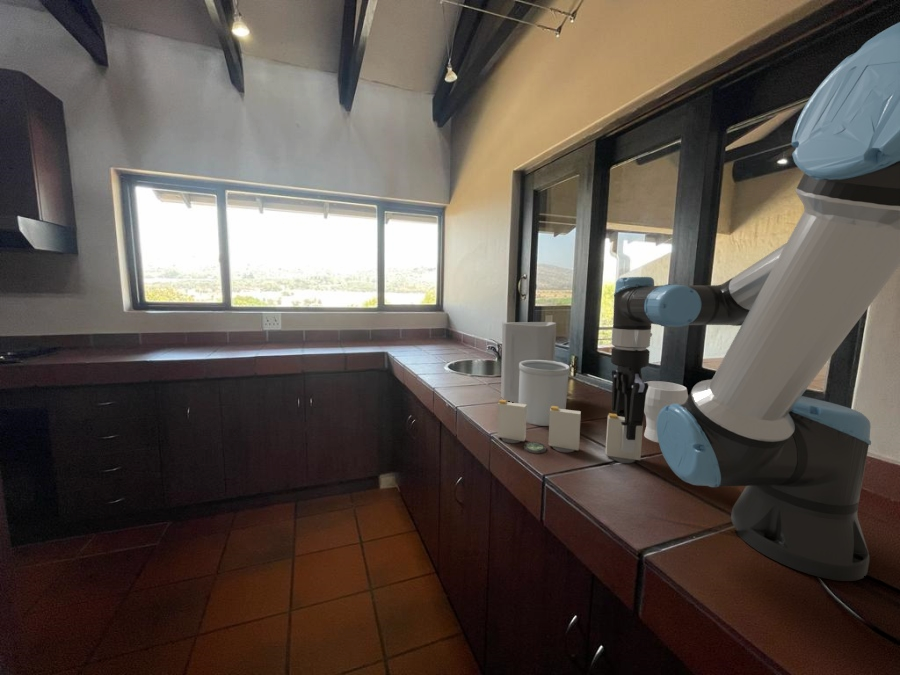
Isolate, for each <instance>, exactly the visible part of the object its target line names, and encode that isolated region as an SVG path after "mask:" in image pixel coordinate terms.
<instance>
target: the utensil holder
mask: <svg viewBox="0 0 900 675" xmlns="http://www.w3.org/2000/svg"><path fill="white" fill-rule="evenodd" d="M519 369H520V376H519V404H527V414H526V424H530V425H535V426H540V427H546V426H547V427H549V418H550V409H551V406H558V409H566V408H567V400H568V399H567V398H568V385H569V373H570V371H571V368H570V365H568V364H566V363H564V362H561V361H556V360H555V361H548V360H526V361H522V362H520V363H519ZM566 410H567V409H566Z"/></svg>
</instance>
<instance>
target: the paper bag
mask: <svg viewBox="0 0 900 675" xmlns="http://www.w3.org/2000/svg"><path fill="white" fill-rule="evenodd" d="M501 328H502V330H501V332H502V334H501V335H502V336H501V370H500V372H501V374H500V376H501V377H500V378H501V379H500V380H501V381H500V383H501V384H500V398H501V397H502V398H503V399H504V400H507V402H508V401H510V402H511V403H512V402H514V403H519V376H520V369H519V363H520V362H522V361H526V360H548V361H556V344H557V343H556V340H557V338H556V337H557V322H553V321H529V322H528V321H527V322H526V321H524V322H522V321H517V322H512V321H511V322H502V326H501ZM502 398H501V399H502ZM503 399H502V400H503Z"/></svg>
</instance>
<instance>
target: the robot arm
mask: <svg viewBox="0 0 900 675" xmlns="http://www.w3.org/2000/svg"><path fill="white" fill-rule="evenodd" d="M791 146H792V147H793V148H795V150H793V152H792V154H791V156H792V158H793V162H794V163H795V166H797V168H798V169H799V170H801V172H803V175H802V177H801V179H800V181H799V183H798V185H797V187H796V188H795V193H796V195H797V196H798V198H799V200H800V201H801V203H802V204H803V210H804V211H803V213H802V214H801V216H800V217H799V219H798V221H797V224H796V225H795V227H794V229H793V231H792V233H791V235H790V236H789V237H788V240H787V242H785V243H784V244H783V245H781V246H779V247H777V248H776V249H774V250H773V251H772V252H770V253H768V254H767V255H766V256H764V257H763V258H761V259H759V260H758V261H756V262H755V263H753V264H751V265H750V266H748V267H746V269H744V270H743V271H741V272H739V273H738V274H736V275H735V276H733V277H732V278H730V279H728V280H726V281H725V282H723V283H721V284H718V285H716V284H714V285H713V284H711V285H710V284H709V285H707V284H704V285H703V284H702V285H697V284H696V285H694V284H693V285H689V284H688V285H686V284H685V285H684V284H682V285H681V284H670V283H669V284H663V285H655V280H654V278H653V277H652V276H630V277H626V276H625V277H620V278H618V279H617V280H616V281H615V289H614V293H613V318H612V330H611V331H612V332H611V345H612V346H613V347H612V348H611V352H610V353H611V355H610V356H611V358H610V362H611V364H612V365H614V366H617V367H616V370H611V378H612V383H611V384H612V385H611V386H612V387H611V388H612V389H611V394H612V395H611V411H612V412H614V414H617V416H620V417H625V422H621V424H622V440H621V452H626V453H635V441H636V426H642V425H643V426H644V416H645V413H644V407H645V399H646V393H647V390H648V383H645V382H643V380H642V377H643V374H642V369H643V368H647V367H648V366H649V364H650V355H651V354H650V353H651V351H650V350H649V349H648V348H650V346H651V337H652V336H653V333H652V325H658V326H661V327H664V328H665V327H666V328H667V327H668V328H669V327H672V328H679V327H684V326H704V325H705V326H736V327H737V326H739V327H740V328H739V329H738V331H737V333H736V335H735V337H734V338H733V340H732V342H731V343H730V345H729V347H728V350H727V351H726V353H725V354H724V356H723V359H722V360H721V362H720V365H719V366H718V368H717V369H716V371H715V374H714V375H713V377H712V378H711V379H706V380H701V381H699V382H697V383H696V384H695V385H694V386H693V387H692V388H691V391H690V393H689V394H688V398H687V400H686V402H685V403H684V404H682V405H679V404H671V405H668V406H665V407H664V408H662V409H661V411H660V412H659V415H658V418H657V437H658V441H659V443H658V444H659V448H660V450H661V453H662V456H663V458H664V460H665V462H666V463H667V466H669V468H670V469H671V471H672V472H673V473H674V474H675V475H676V477H678V478H679V479H681V480H682V481H683V482H685V483H687V484H690V485H693V486H703V487H704V486H706V487H710V488H718V487H744V489H743V490H742V492H741V494H740V495H739V497H738V498H737V500H735V503H734V505H732V509H731V516H730V520H731V523H732V525H733V526H734V528H735V529H734V530H733V532H735V533H736V534H737V535H738V537H739V538H740V539H742V540H743V541H744V542H745V543H747V545H749V546H750V547H752V549H754V550H756V551H757V552H759V553H760V554H762V555H764V556H766V557H767V558H769V559H771V560H772V561H776V562H777V563H779V564H782V565H784V566H787V567H788V568H790V569H792V570H793V569H794V570H796V571H798V572H801V573H804V574H808V575H811V576H814V577H818V578H822V579H826V580H827V579H828V580H831V581H837V582H838V581H840V582H853V581H859V580H861V579H864V578H865V577H866V576H867V574H868V571H869V565H870V554H869V550H868V546H867V544H866V540H865V536H864V533H863V530H862V528H861V524H860V521H859V517H858V509H859V503H860V502H859V501H860V497H861V493H862V492H861V491H862V486H863V481H864V480H863V479H864V474H865V468H866V464H867V457H868V452H869V446H871V444H872V441H871V439H870V438H871V437H870V436H871V422H870V419H869V418H868V417H867V416H866V415H864V414H863V413H862V412H859V411H857V410H856V409H853V408H850V407H846V406H844V405H840V404H837V403H833V402H829V401H825V400H822V399H816V398H813V397H808V396H803V394H804V393H805V392H806V391H807V389H808V388H809V387H810V385H811V384H812V382H813V381H814V380H815V378H816V377H817V376H818V374H819V373H820V372H821V370H822V369H823V368H824V367H825V365H826V363H828V362H829V360H830V358H831V357H832V356H833V355H834V353H835V352H836V351H837V349H838V348H839V347H840V346H841V345H842V343H843V341H844V340H845V339H846V338H847V336H848V335H849V333H850V332H851V331H852V329H853V328H854V327H855V326H856V324H858V321H859V320H860V319H861V318H862V317H863V315H864V313H865V312H866V311H867V310H868V308H869V307H870V306H871V304H872V303H873V302H874V300H875V299H876V298H877V297H878V295H879V294H880V292H882V290H883V288H884V287H886V285H887V283H888V282H889V281H890V279H892V276H893V275H894V274H895V272H897V270H898V269H899V267H900V21H899V22H897V23H895V24H893V25H891V26H890V27H888V28H886V29H884V30H883V31H881V32H879V33H877V34H876V35H875V36H873V37H872V38H870V39H869V40H867V41H865V43H864V44H862V46H861V47H860V48H859V49H858V50H857V51H856V52H855V53H852V54H850V55H848V56H847V57H846V58H844V59H843V60H842V61H841V62H840V63H839V64H838V65H837V66H836V67H834V69H833V70H832V71H831V72H830V73H829V74H828V75H827V76H826V77H825V78H824V80H823V81H821V83H820V84H819V86H817V88H816V90H815V91H814V92H813V94H812V95H811V96H810V98H809V99H808V101H806V103H805V105H804V107H803V109H802V110H801V112H800V115H799V116H798V119H797V121H796V123H795V127H794V129H793V133H792V137H791ZM864 576H865V577H864Z"/></svg>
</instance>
